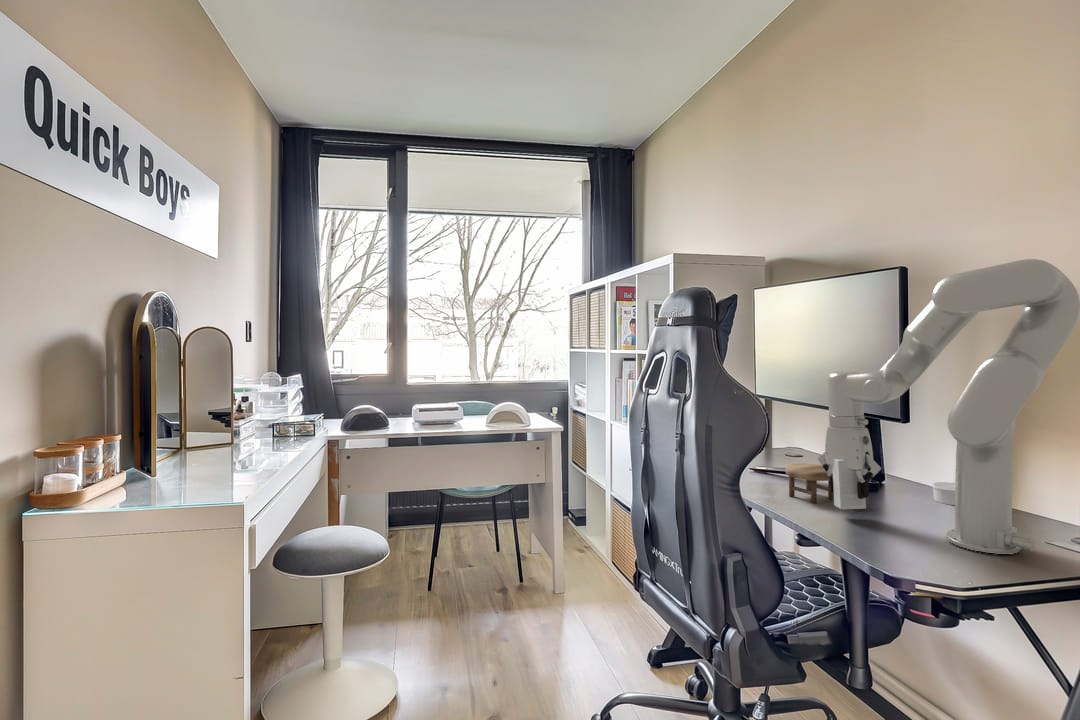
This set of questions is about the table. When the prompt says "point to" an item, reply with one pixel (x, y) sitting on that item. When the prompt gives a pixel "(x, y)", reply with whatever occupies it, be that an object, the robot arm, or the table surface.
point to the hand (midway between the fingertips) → (849, 494)
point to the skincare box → (846, 487)
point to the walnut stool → (808, 479)
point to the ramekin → (944, 492)
